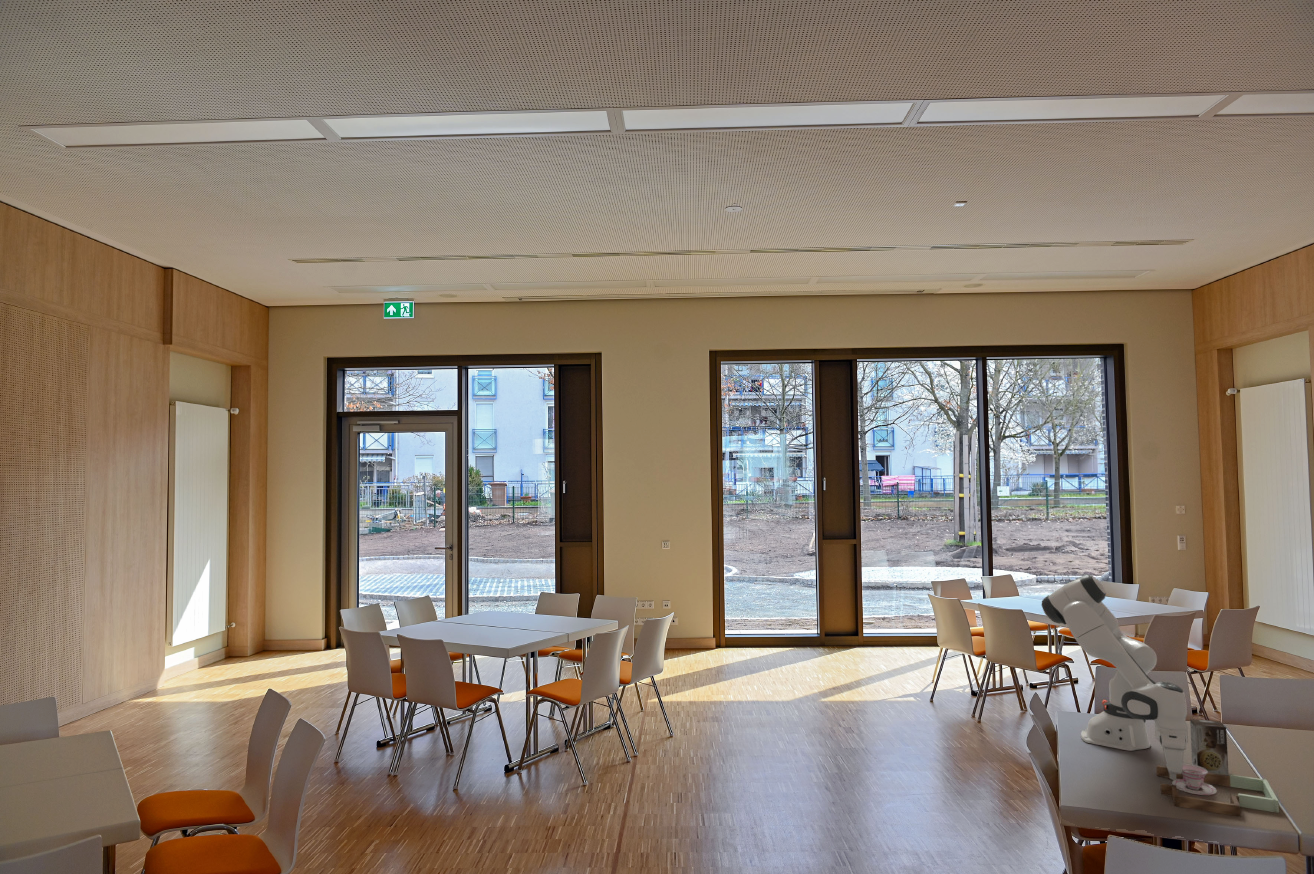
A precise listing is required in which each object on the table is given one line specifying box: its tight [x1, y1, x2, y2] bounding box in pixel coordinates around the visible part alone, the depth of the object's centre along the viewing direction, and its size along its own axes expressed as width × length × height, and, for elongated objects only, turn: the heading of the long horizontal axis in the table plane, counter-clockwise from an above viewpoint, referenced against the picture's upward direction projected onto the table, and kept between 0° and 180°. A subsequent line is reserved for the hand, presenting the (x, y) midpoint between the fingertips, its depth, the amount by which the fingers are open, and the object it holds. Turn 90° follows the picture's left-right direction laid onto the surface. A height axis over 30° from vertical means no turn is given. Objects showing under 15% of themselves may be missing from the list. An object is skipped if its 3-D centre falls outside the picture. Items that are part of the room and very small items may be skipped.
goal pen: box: [1228, 774, 1280, 814], centre depth 246 cm, size 10×17×4 cm, turn 152°
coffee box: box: [1189, 718, 1230, 776], centre depth 268 cm, size 9×6×16 cm
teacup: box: [1171, 763, 1218, 796], centre depth 255 cm, size 12×12×6 cm
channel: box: [1156, 765, 1242, 817], centre depth 249 cm, size 20×25×3 cm
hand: (1172, 777), depth 256 cm, fingers closed
